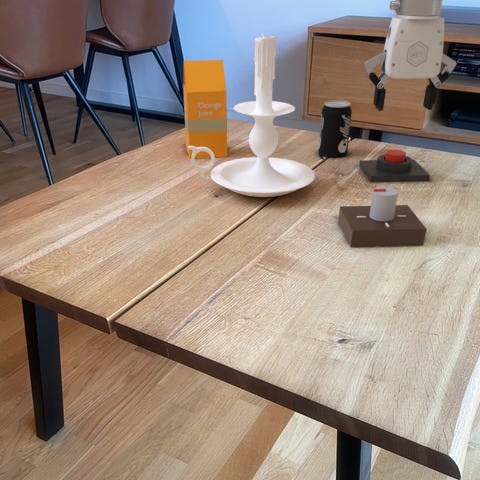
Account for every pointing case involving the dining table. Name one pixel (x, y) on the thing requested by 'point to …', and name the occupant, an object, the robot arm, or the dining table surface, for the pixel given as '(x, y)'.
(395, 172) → the dark grey device base
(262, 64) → the candlestick
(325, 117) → the beverage can
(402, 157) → the power button
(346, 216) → the panel
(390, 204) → the warmer dial
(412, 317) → the dining table surface
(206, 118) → the orange juice
